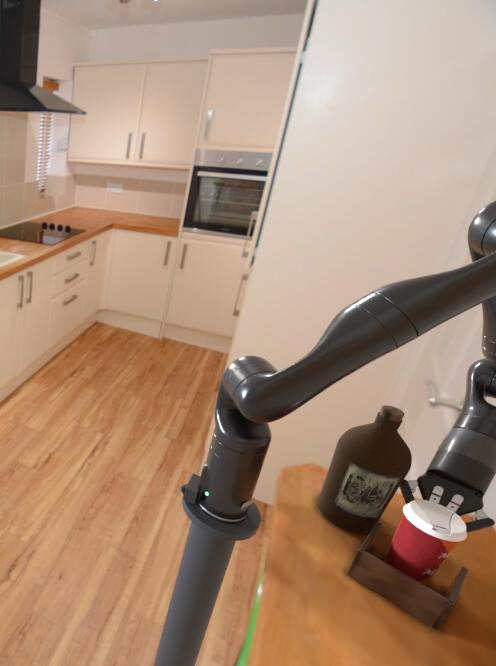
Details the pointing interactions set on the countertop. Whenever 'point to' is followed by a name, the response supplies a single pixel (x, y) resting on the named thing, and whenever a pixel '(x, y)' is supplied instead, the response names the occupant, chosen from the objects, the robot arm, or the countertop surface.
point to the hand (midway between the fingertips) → (420, 545)
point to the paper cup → (424, 539)
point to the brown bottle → (365, 472)
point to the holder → (404, 585)
